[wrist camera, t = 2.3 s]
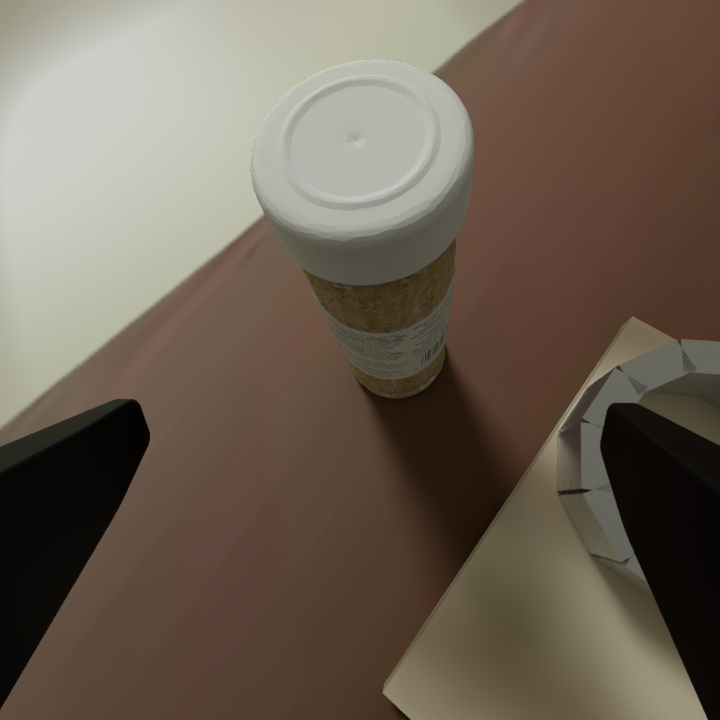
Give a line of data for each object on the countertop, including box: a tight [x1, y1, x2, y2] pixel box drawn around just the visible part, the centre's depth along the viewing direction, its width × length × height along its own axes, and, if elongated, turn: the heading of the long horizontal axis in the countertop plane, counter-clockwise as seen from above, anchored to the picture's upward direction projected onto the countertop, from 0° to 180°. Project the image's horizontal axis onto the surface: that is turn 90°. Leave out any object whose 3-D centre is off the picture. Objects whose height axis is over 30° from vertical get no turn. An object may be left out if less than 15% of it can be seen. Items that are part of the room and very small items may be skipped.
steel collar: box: [556, 339, 720, 600], centre depth 16 cm, size 9×9×3 cm
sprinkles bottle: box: [251, 60, 475, 399], centre depth 15 cm, size 5×5×13 cm
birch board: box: [383, 316, 720, 720], centre depth 17 cm, size 18×13×1 cm
